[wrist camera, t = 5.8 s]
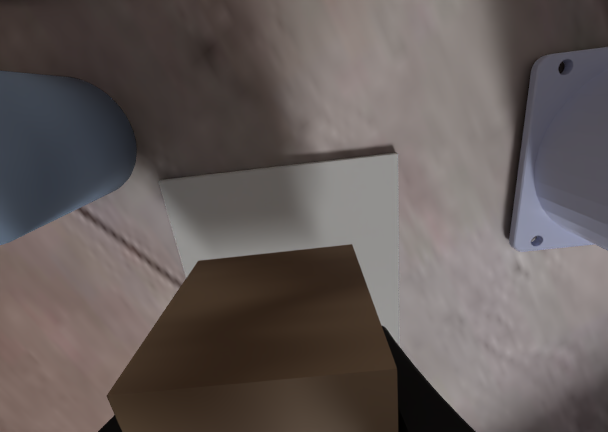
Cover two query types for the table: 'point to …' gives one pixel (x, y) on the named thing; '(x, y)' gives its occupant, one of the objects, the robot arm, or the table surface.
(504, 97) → the table surface
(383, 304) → the grey mat
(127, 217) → the table surface
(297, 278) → the walnut block
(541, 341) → the table surface
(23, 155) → the blue cylinder
